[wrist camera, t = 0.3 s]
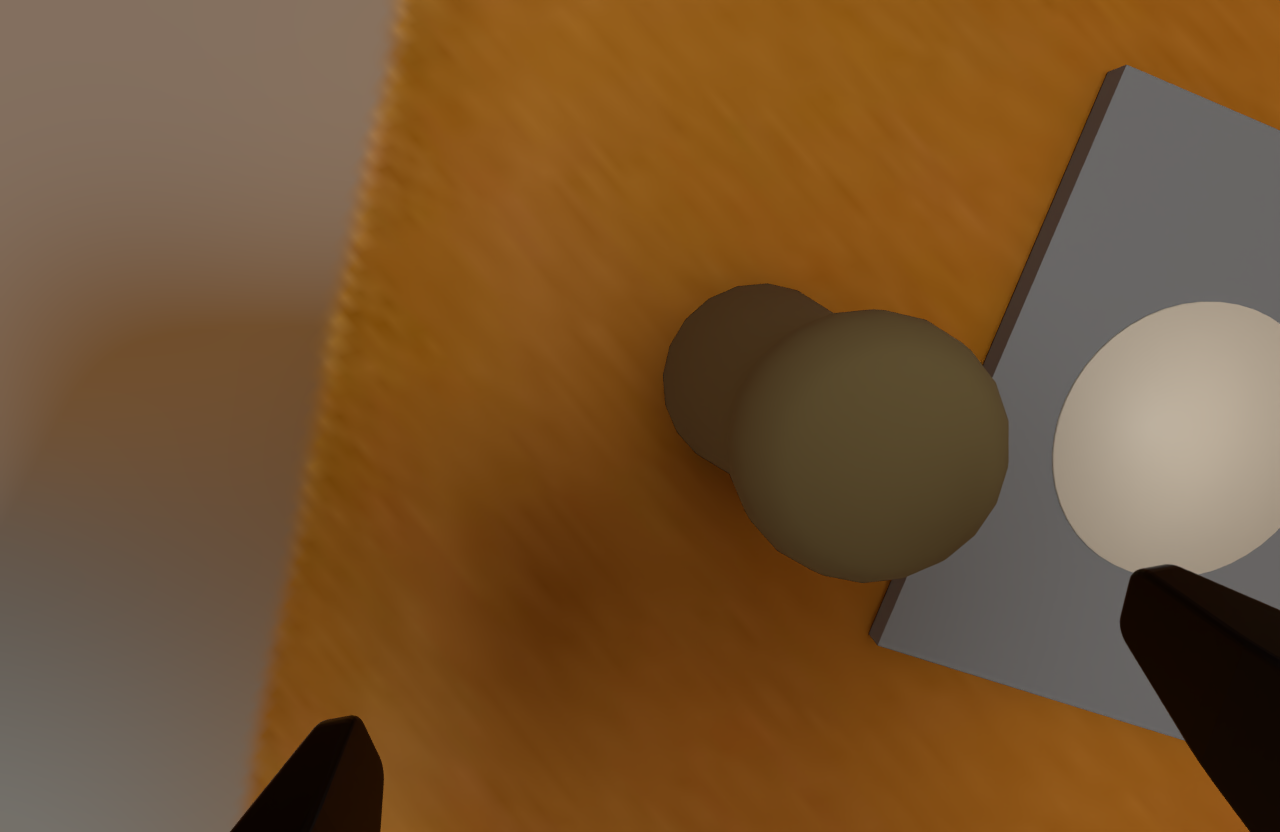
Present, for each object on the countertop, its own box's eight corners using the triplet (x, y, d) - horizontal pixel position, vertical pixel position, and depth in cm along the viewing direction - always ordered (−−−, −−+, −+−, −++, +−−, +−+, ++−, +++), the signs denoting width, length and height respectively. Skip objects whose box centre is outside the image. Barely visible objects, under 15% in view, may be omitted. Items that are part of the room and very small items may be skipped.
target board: (1220, 743, 27) (1241, 759, 26) (868, 633, 25) (878, 646, 24) (1484, 233, 24) (1518, 231, 23) (1108, 72, 22) (1129, 63, 22)
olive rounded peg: (749, 242, 23) (892, 208, 12) (891, 367, 24) (1141, 442, 13) (623, 394, 23) (649, 494, 13) (766, 510, 24) (905, 696, 14)
